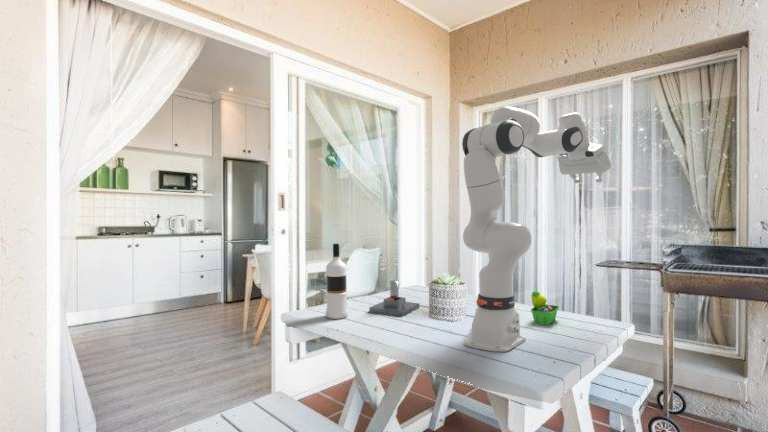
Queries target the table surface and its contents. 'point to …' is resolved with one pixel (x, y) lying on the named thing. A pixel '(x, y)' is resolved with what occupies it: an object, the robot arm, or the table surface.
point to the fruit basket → (542, 309)
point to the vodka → (336, 287)
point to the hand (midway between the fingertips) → (588, 182)
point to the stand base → (394, 307)
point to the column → (394, 289)
